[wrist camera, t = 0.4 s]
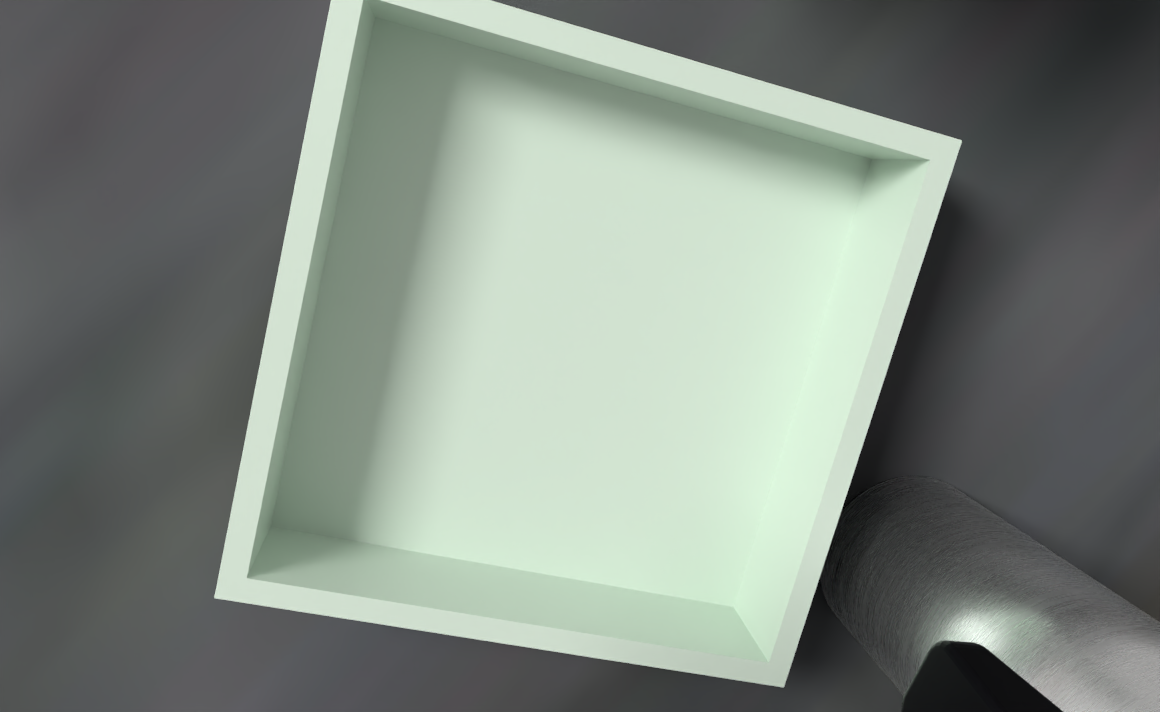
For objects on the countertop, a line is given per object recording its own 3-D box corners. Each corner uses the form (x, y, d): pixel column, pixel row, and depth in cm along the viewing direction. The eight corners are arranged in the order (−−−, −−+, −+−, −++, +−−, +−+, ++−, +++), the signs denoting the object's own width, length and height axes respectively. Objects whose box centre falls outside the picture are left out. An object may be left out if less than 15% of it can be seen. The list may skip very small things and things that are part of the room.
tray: (740, 618, 26) (783, 687, 23) (247, 534, 24) (214, 598, 20) (888, 142, 24) (962, 140, 20) (356, -13, 21) (339, -45, 18)
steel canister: (894, 672, 28) (1270, 1107, 15) (781, 568, 26) (1091, 950, 14) (1019, 550, 27) (1511, 890, 15) (911, 438, 26) (1352, 707, 13)
